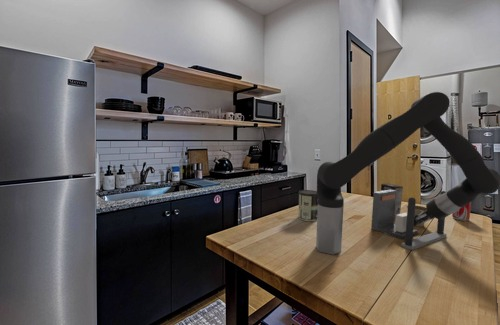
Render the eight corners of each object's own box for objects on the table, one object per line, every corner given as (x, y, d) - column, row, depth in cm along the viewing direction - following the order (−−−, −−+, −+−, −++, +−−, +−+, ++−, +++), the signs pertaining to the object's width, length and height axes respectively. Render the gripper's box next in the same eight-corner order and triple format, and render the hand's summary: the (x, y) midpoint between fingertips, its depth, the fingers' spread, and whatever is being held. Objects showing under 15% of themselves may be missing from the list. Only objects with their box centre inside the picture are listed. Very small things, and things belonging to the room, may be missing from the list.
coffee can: (315, 215, 139) (316, 189, 138) (320, 221, 129) (321, 194, 128) (296, 215, 139) (297, 189, 138) (299, 221, 129) (300, 193, 128)
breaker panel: (417, 233, 114) (421, 195, 113) (401, 239, 108) (404, 198, 106) (387, 224, 126) (390, 189, 125) (371, 228, 120) (373, 192, 118)
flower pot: (432, 228, 122) (434, 210, 121) (413, 228, 121) (415, 210, 120) (418, 221, 131) (420, 205, 130) (401, 221, 131) (402, 205, 130)
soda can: (462, 217, 139) (465, 194, 138) (473, 221, 132) (475, 197, 130) (448, 216, 140) (451, 193, 138) (458, 221, 132) (460, 196, 131)
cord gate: (446, 236, 111) (450, 191, 109) (411, 250, 97) (416, 198, 95) (436, 233, 115) (440, 189, 112) (401, 246, 101) (405, 196, 99)
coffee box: (378, 211, 149) (380, 183, 147) (386, 209, 151) (388, 183, 150) (392, 215, 141) (395, 186, 139) (401, 214, 143) (403, 186, 141)
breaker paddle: (411, 229, 114) (412, 214, 114) (401, 232, 110) (402, 216, 110) (404, 227, 117) (406, 212, 116) (394, 230, 113) (395, 214, 112)
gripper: (444, 195, 105) (411, 216, 117) (428, 199, 98) (394, 220, 110) (459, 211, 101) (423, 231, 113) (442, 216, 94) (406, 236, 106)
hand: (408, 226), depth 111 cm, fingers closed
